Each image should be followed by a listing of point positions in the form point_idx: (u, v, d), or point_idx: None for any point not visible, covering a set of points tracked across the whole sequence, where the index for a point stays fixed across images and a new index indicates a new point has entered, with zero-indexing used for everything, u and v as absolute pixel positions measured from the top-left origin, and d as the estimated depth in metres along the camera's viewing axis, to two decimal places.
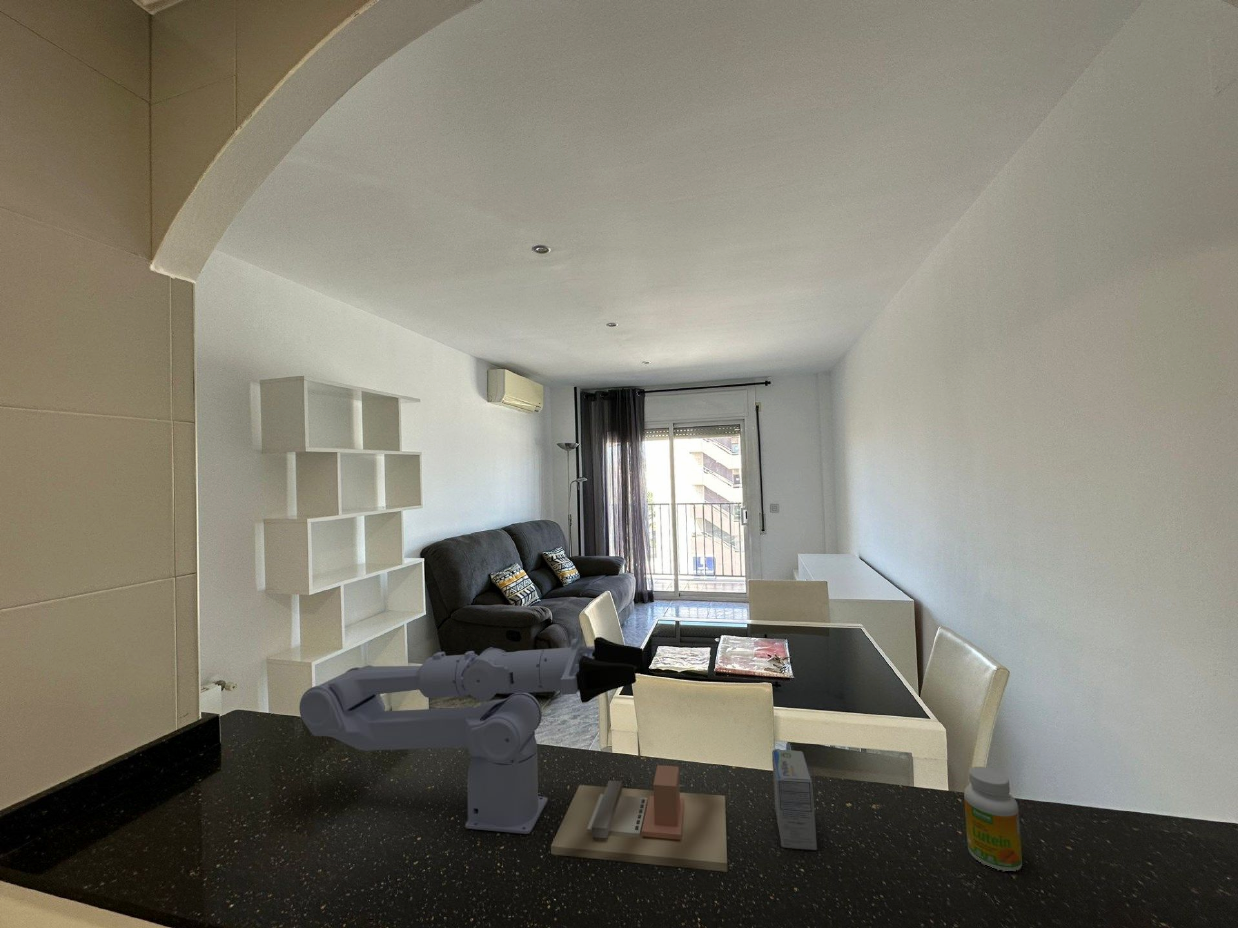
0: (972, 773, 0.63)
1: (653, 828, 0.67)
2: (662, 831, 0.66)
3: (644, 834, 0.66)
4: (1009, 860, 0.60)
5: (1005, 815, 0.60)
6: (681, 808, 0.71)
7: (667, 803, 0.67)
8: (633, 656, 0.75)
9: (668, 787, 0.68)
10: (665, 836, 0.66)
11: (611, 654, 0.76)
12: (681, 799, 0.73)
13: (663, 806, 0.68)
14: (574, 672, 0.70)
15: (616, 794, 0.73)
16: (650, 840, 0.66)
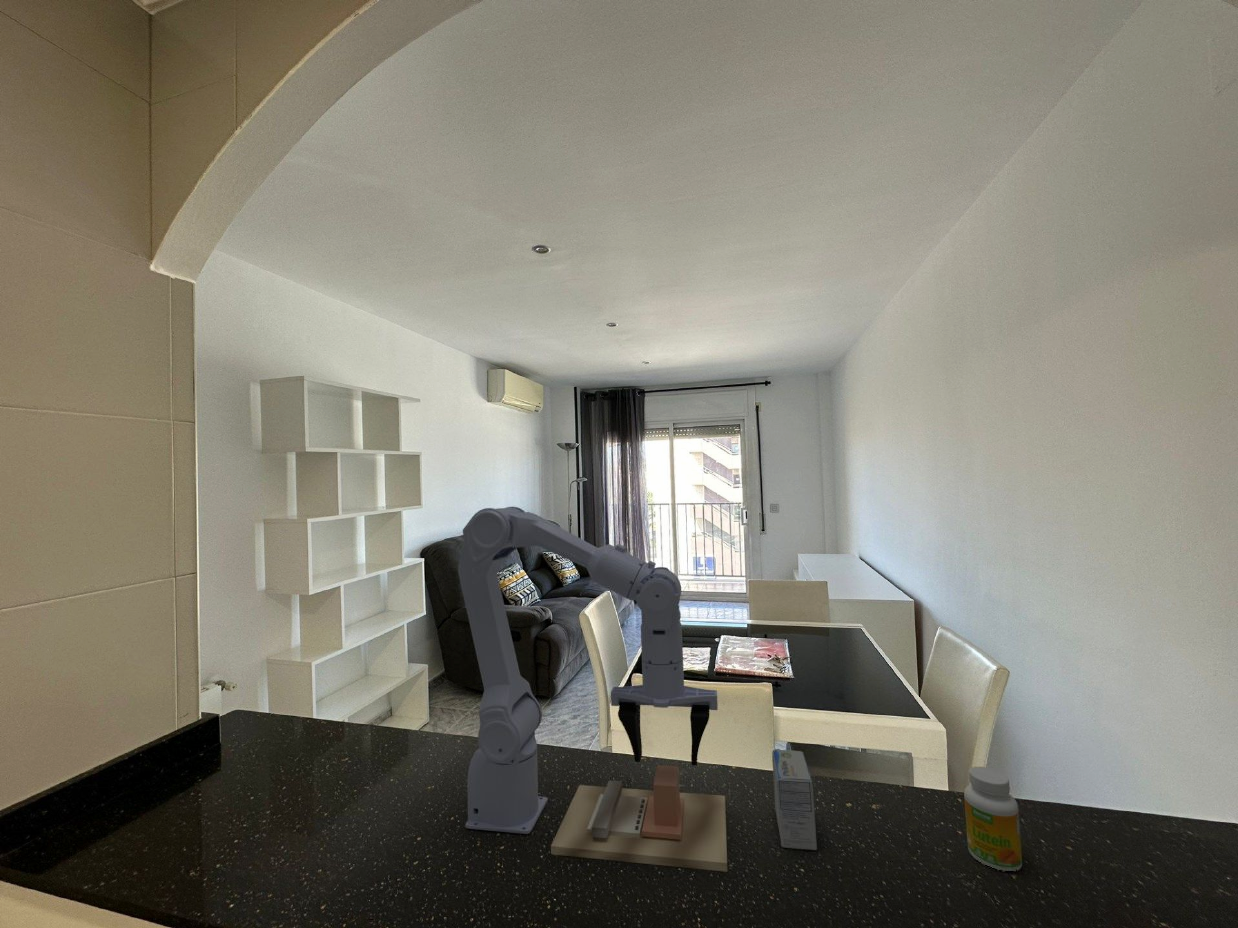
0: (972, 773, 0.63)
1: (653, 828, 0.67)
2: (662, 831, 0.66)
3: (644, 834, 0.66)
4: (1009, 860, 0.60)
5: (1005, 815, 0.60)
6: (681, 808, 0.71)
7: (667, 803, 0.67)
8: None
9: (668, 787, 0.68)
10: (665, 836, 0.66)
11: None
12: (681, 799, 0.73)
13: (663, 806, 0.68)
14: None
15: (616, 794, 0.73)
16: (650, 840, 0.66)
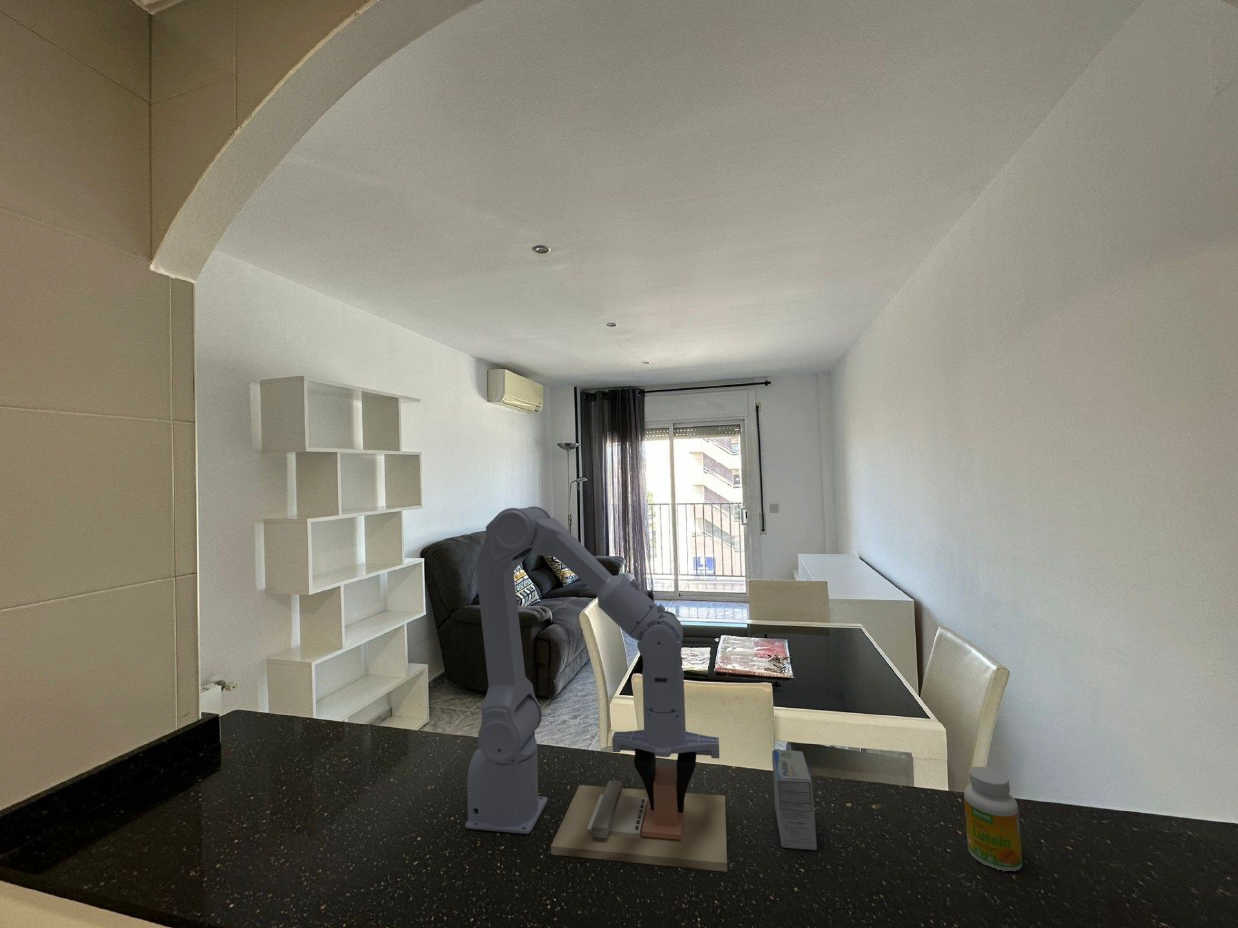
0: (972, 773, 0.63)
1: (653, 828, 0.67)
2: (662, 831, 0.66)
3: (644, 834, 0.66)
4: (1009, 860, 0.60)
5: (1005, 815, 0.60)
6: None
7: (667, 803, 0.67)
8: None
9: (668, 787, 0.68)
10: (665, 836, 0.66)
11: None
12: None
13: (663, 806, 0.68)
14: None
15: (616, 794, 0.73)
16: (650, 840, 0.66)
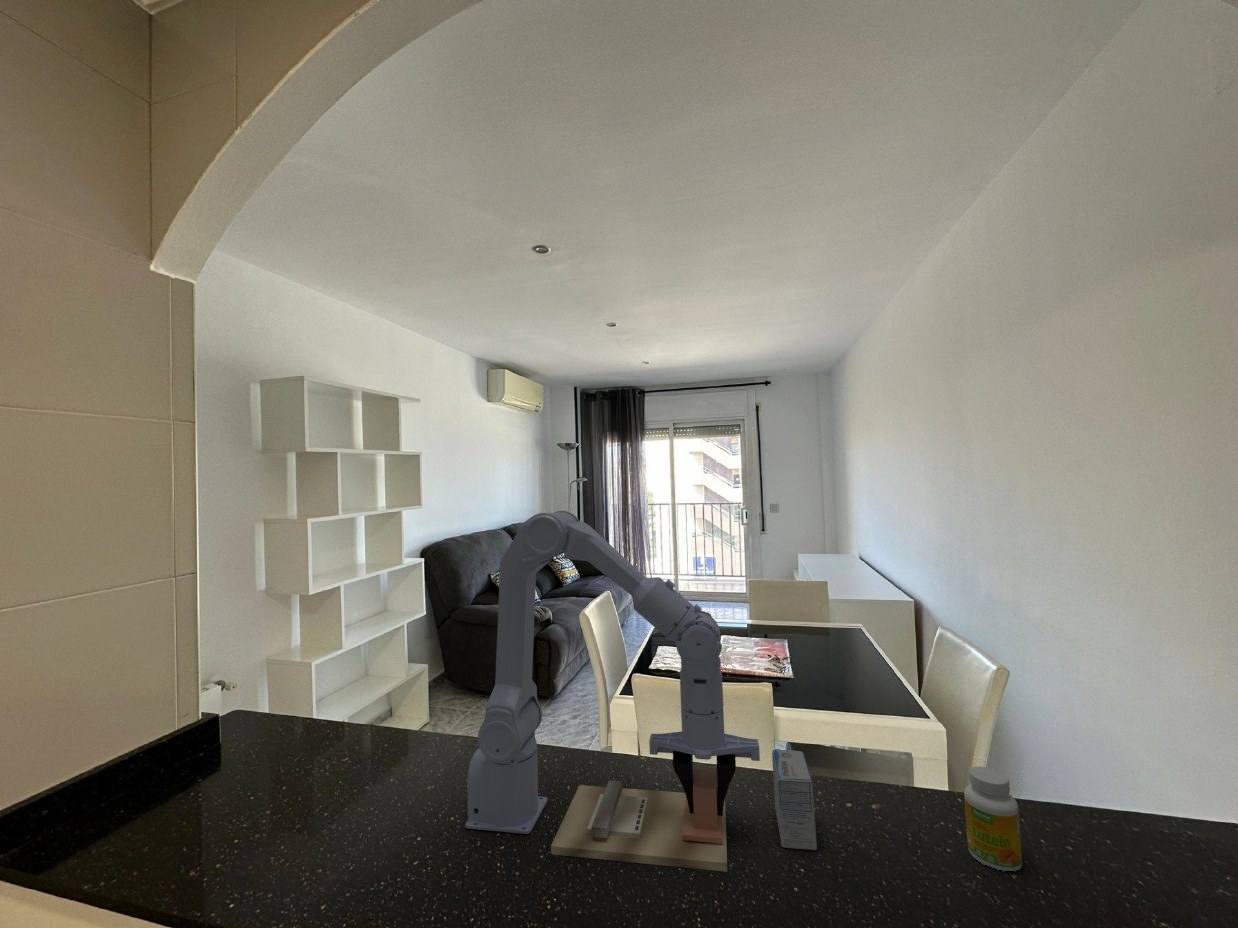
0: (972, 773, 0.63)
1: (694, 832, 0.66)
2: (703, 835, 0.65)
3: (684, 838, 0.65)
4: (1009, 860, 0.60)
5: (1005, 815, 0.60)
6: None
7: (707, 807, 0.67)
8: None
9: (708, 790, 0.67)
10: (706, 840, 0.65)
11: None
12: None
13: (703, 809, 0.67)
14: None
15: (616, 794, 0.73)
16: (650, 840, 0.66)
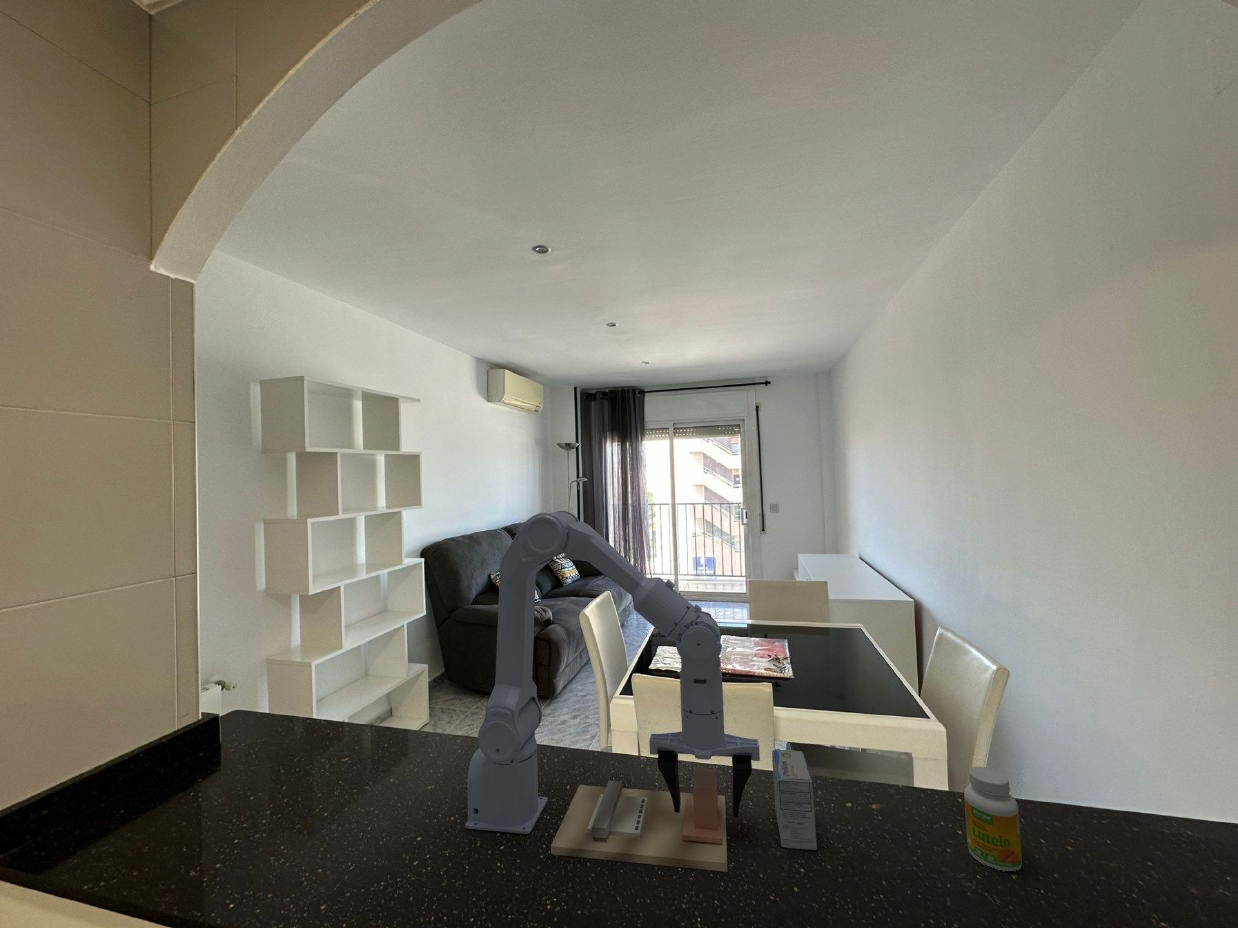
0: (972, 773, 0.63)
1: (694, 832, 0.66)
2: (703, 835, 0.65)
3: (685, 838, 0.65)
4: (1009, 860, 0.60)
5: (1005, 815, 0.60)
6: (719, 811, 0.70)
7: (708, 807, 0.66)
8: (732, 802, 0.68)
9: (708, 790, 0.67)
10: (706, 840, 0.65)
11: None
12: (718, 802, 0.72)
13: (703, 809, 0.67)
14: None
15: (616, 794, 0.73)
16: (650, 840, 0.66)
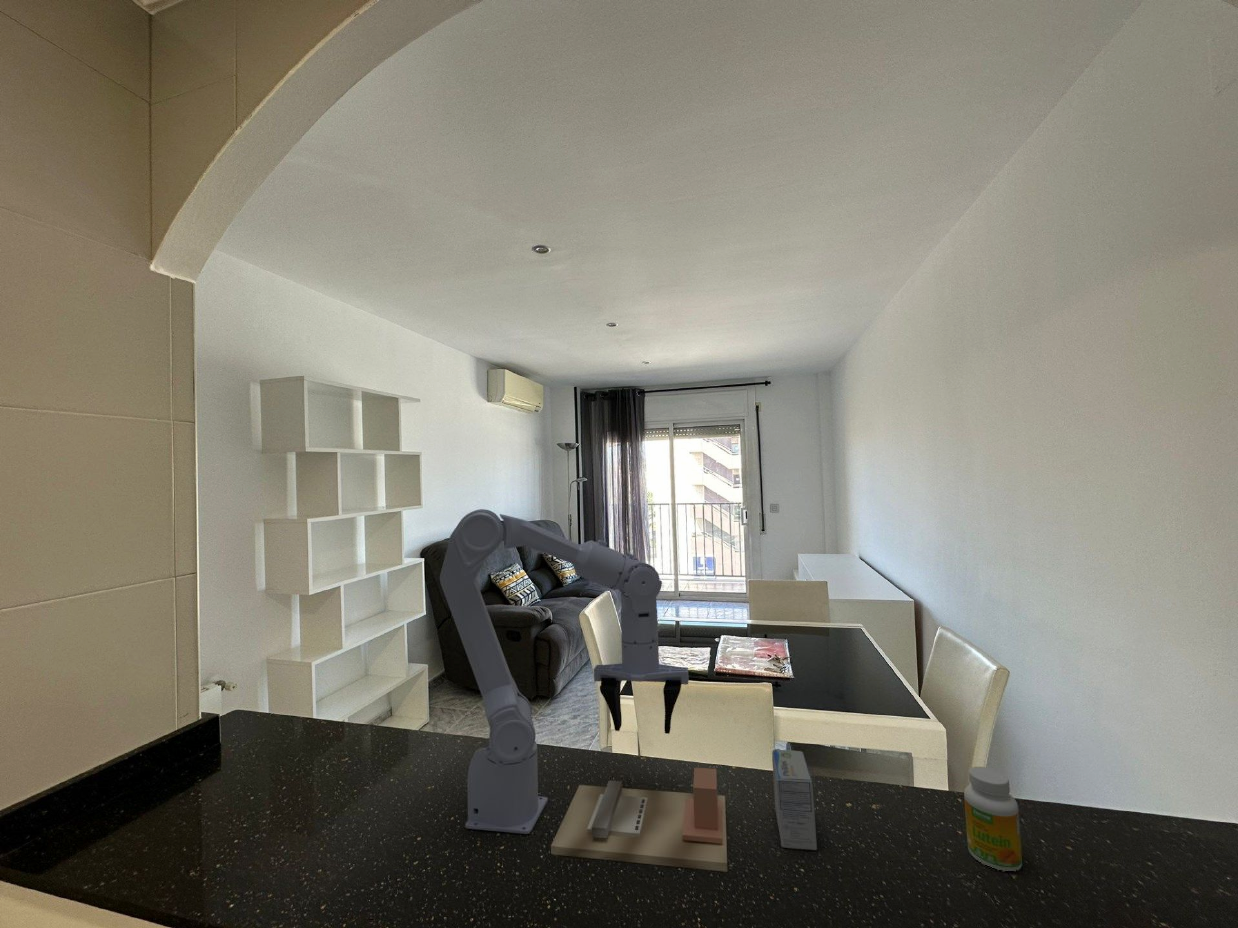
0: (972, 773, 0.63)
1: (694, 832, 0.66)
2: (703, 835, 0.65)
3: (685, 838, 0.65)
4: (1009, 860, 0.60)
5: (1005, 815, 0.60)
6: (719, 811, 0.70)
7: (708, 807, 0.66)
8: None
9: (708, 790, 0.67)
10: (706, 840, 0.65)
11: None
12: (718, 802, 0.72)
13: (703, 809, 0.67)
14: None
15: (616, 794, 0.73)
16: (650, 840, 0.66)
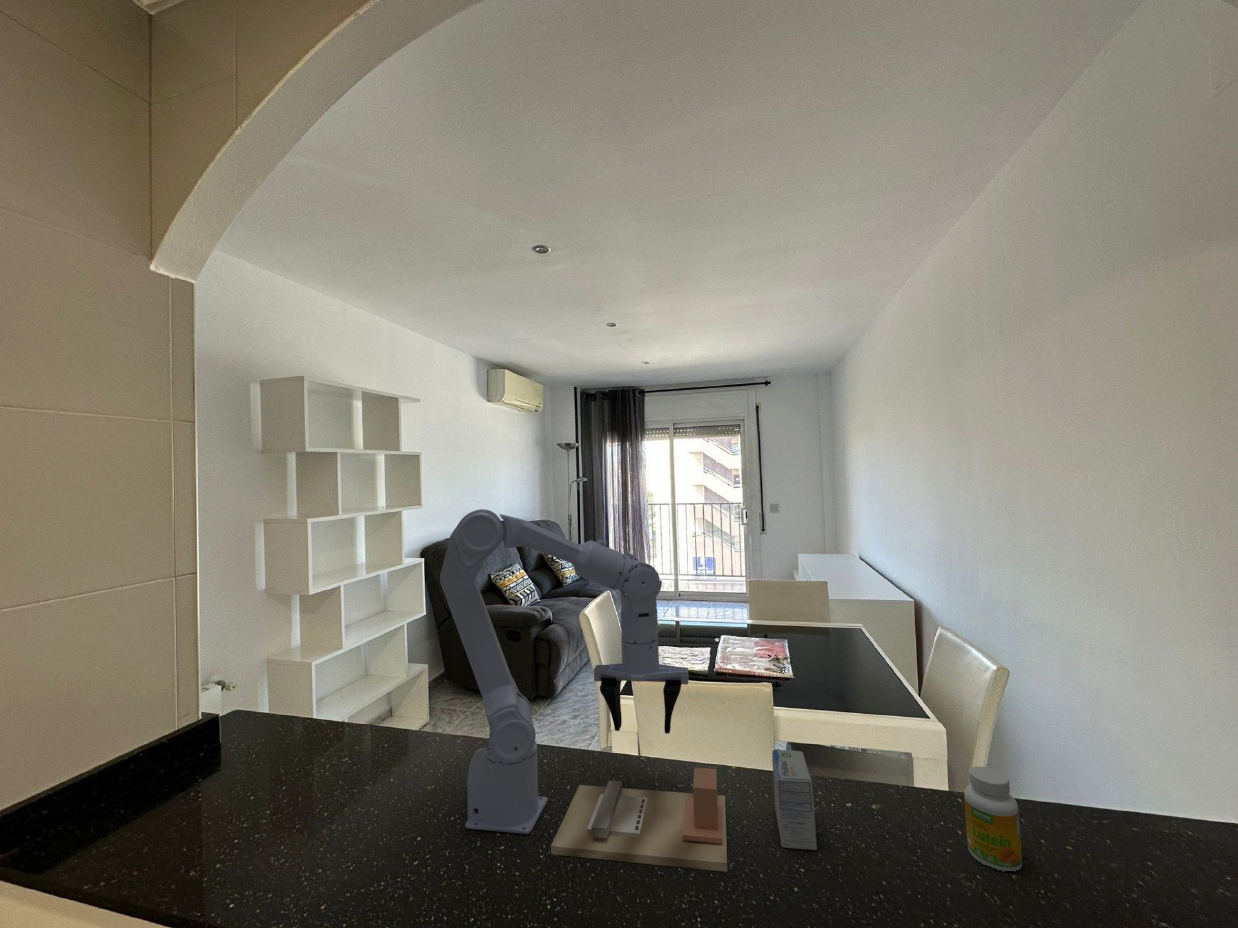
0: (972, 773, 0.63)
1: (694, 832, 0.66)
2: (703, 835, 0.65)
3: (685, 838, 0.65)
4: (1009, 860, 0.60)
5: (1005, 815, 0.60)
6: (719, 811, 0.70)
7: (708, 807, 0.66)
8: None
9: (708, 790, 0.67)
10: (706, 840, 0.65)
11: None
12: (718, 802, 0.72)
13: (703, 809, 0.67)
14: None
15: (616, 794, 0.73)
16: (650, 840, 0.66)
